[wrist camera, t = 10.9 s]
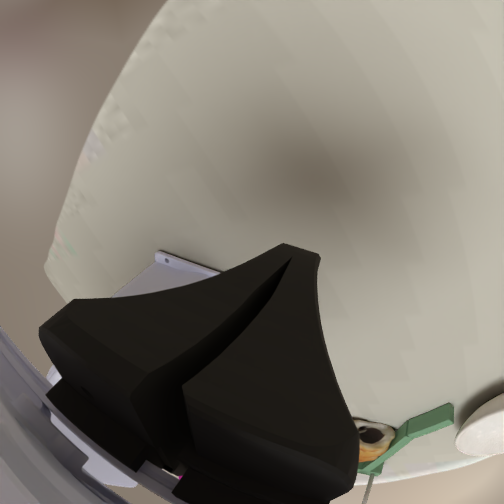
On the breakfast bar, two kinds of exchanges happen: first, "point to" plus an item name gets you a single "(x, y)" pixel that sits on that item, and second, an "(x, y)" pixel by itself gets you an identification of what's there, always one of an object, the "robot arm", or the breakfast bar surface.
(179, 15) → the breakfast bar surface
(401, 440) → the green bars
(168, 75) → the breakfast bar surface
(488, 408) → the spoon rest
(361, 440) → the pastry
